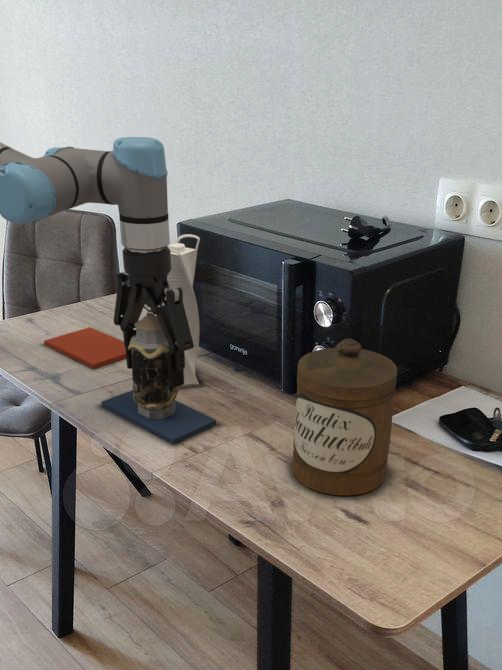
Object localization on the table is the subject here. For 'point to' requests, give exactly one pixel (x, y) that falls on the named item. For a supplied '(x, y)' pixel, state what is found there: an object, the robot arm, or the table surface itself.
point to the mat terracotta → (89, 347)
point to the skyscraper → (186, 299)
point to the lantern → (151, 369)
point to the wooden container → (343, 419)
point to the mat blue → (167, 428)
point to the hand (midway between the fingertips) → (155, 375)
